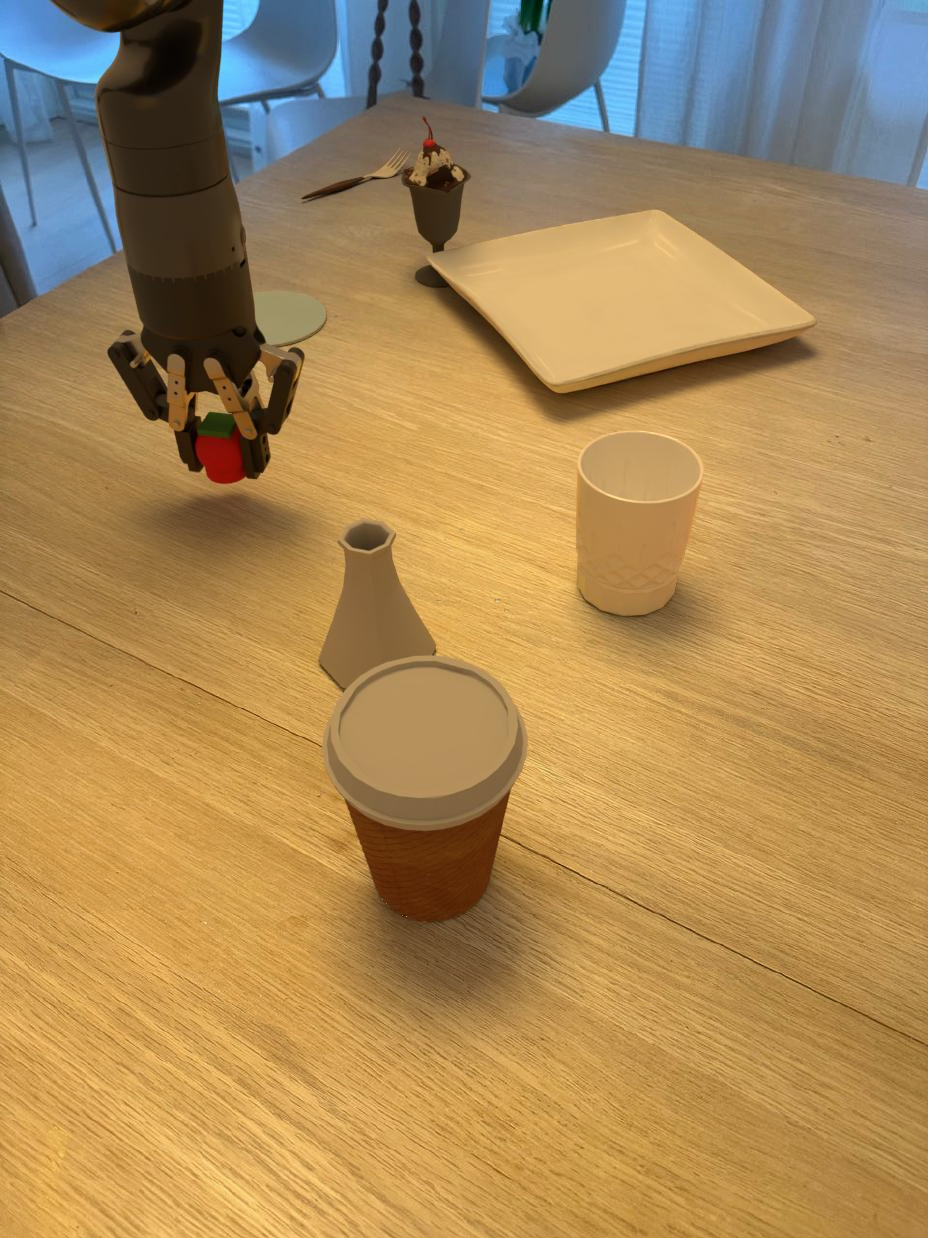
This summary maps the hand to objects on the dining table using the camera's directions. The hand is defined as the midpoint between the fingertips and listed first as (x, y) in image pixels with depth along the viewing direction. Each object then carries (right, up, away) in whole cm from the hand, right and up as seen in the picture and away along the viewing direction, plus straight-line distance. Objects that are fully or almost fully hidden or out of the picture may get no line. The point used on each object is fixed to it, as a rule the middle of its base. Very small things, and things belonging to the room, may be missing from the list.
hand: (227, 468), depth 78 cm
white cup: (+29, -9, -6) cm, 31 cm away
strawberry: (0, 0, 0) cm, 0 cm away
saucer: (-1, +18, +23) cm, 29 cm away
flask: (+12, -14, -10) cm, 21 cm away
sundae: (+15, +24, +29) cm, 41 cm away
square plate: (+31, +17, +22) cm, 42 cm away
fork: (+5, +40, +47) cm, 62 cm away
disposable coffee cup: (+16, -25, -22) cm, 37 cm away
